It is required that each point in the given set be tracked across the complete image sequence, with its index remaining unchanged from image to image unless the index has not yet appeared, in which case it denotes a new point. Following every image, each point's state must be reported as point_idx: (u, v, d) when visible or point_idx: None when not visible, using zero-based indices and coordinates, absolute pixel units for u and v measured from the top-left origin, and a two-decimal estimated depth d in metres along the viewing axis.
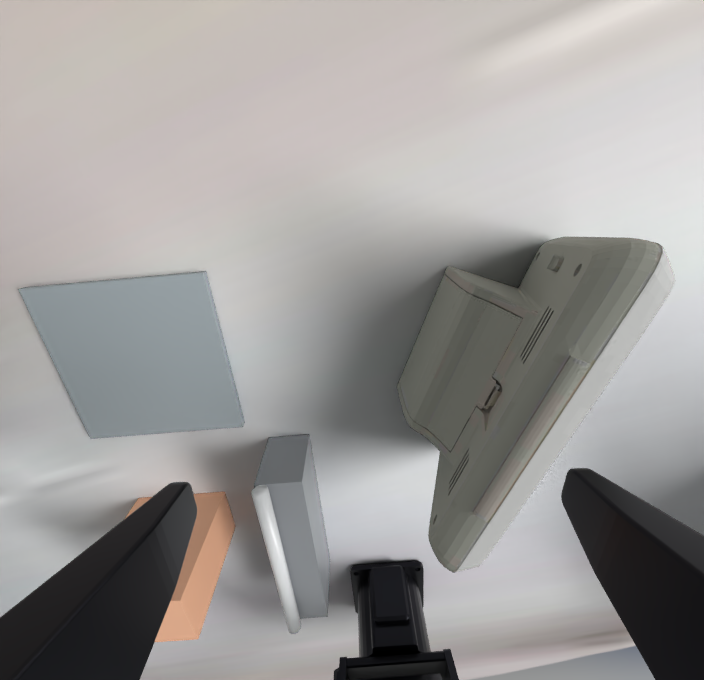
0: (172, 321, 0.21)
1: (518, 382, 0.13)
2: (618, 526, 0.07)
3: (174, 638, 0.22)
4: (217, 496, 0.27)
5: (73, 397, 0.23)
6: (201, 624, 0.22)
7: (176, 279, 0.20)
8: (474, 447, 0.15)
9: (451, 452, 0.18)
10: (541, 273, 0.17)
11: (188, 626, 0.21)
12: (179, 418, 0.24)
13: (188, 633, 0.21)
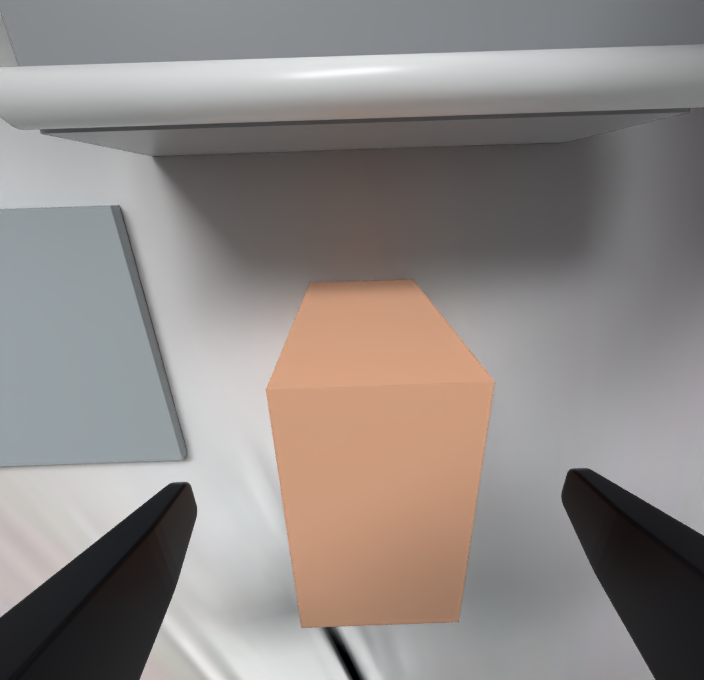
0: None
1: None
2: (618, 526, 0.07)
3: (470, 445, 0.07)
4: None
5: (106, 459, 0.16)
6: (468, 363, 0.07)
7: None
8: None
9: None
10: None
11: (415, 396, 0.06)
12: (115, 322, 0.13)
13: (454, 405, 0.06)
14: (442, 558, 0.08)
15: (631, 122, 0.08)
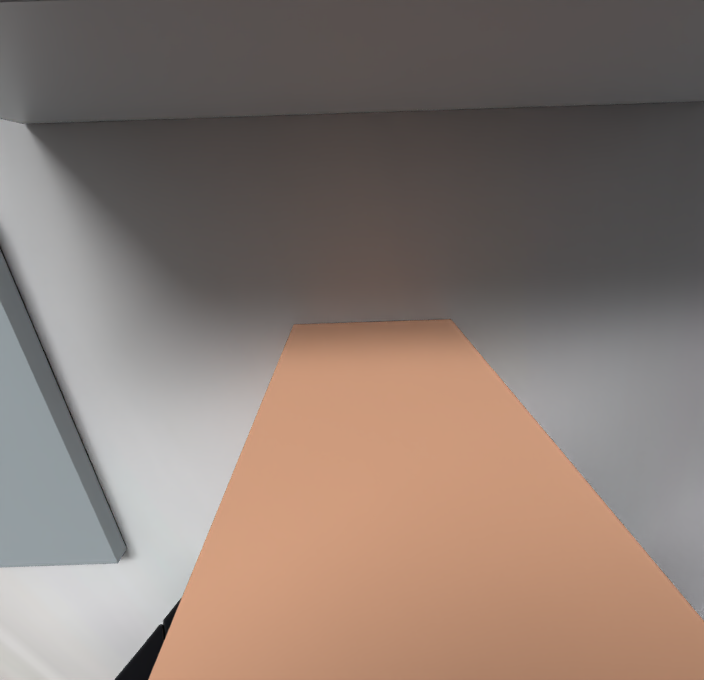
0: None
1: None
2: None
3: None
4: None
5: (11, 563, 0.11)
6: None
7: None
8: None
9: None
10: None
11: None
12: None
13: None
14: None
15: None
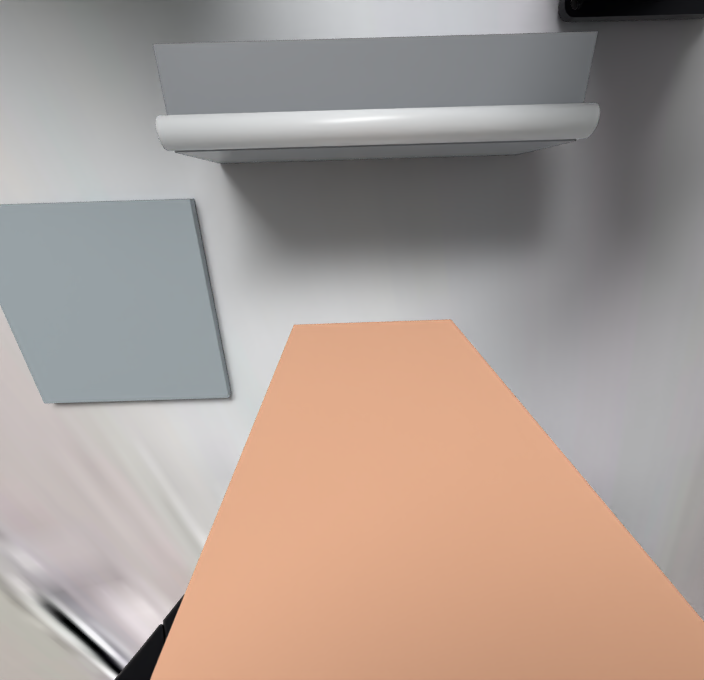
0: (35, 260, 0.17)
1: None
2: None
3: None
4: None
5: (170, 396, 0.20)
6: None
7: None
8: None
9: None
10: None
11: None
12: (185, 286, 0.18)
13: None
14: None
15: (547, 145, 0.13)
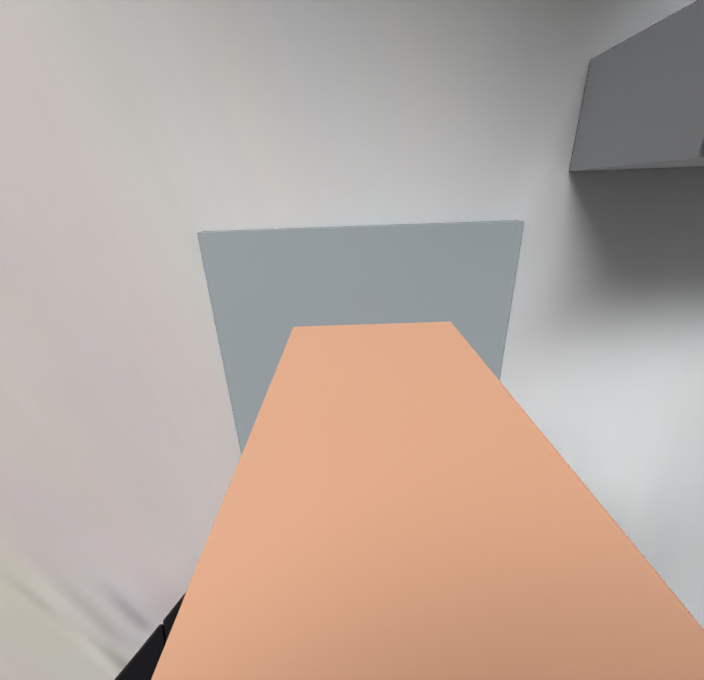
0: (287, 304, 0.13)
1: None
2: None
3: None
4: None
5: None
6: None
7: (213, 280, 0.12)
8: None
9: None
10: None
11: None
12: (477, 337, 0.13)
13: None
14: None
15: None
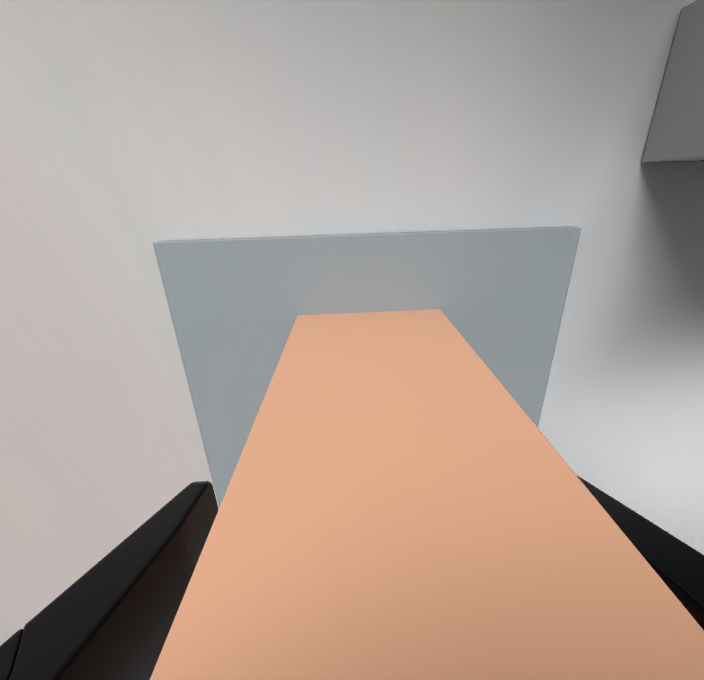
0: (272, 334, 0.10)
1: None
2: None
3: None
4: None
5: None
6: (633, 578, 0.03)
7: (177, 304, 0.09)
8: None
9: None
10: None
11: None
12: (513, 373, 0.10)
13: None
14: None
15: None
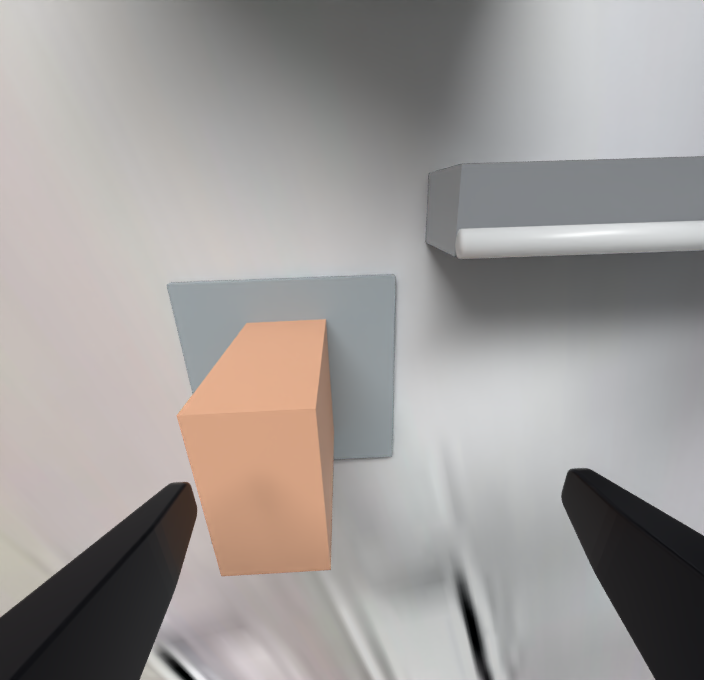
0: (233, 333, 0.17)
1: None
2: (618, 526, 0.07)
3: (309, 447, 0.10)
4: None
5: (335, 456, 0.21)
6: (309, 396, 0.11)
7: (179, 317, 0.17)
8: None
9: None
10: None
11: (269, 418, 0.10)
12: (373, 355, 0.18)
13: (293, 423, 0.10)
14: (308, 523, 0.12)
15: None
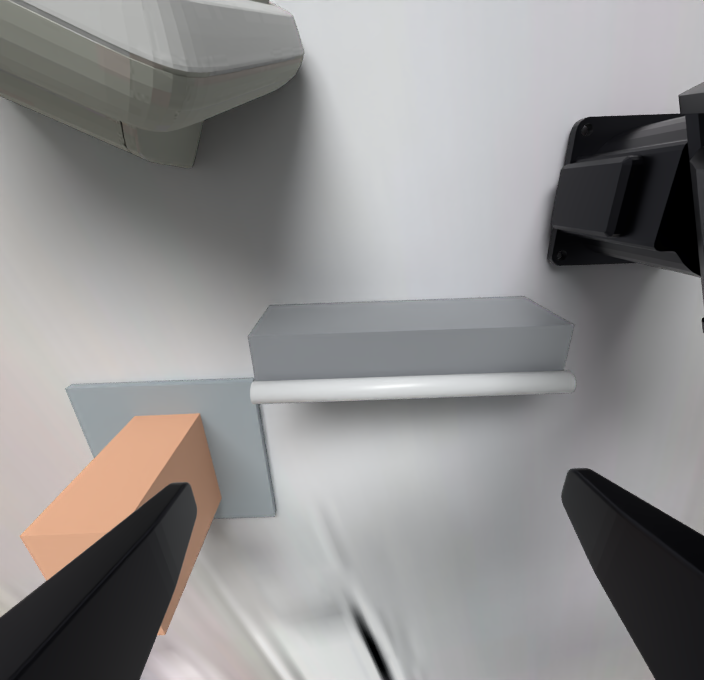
0: (124, 423, 0.21)
1: None
2: (618, 526, 0.07)
3: None
4: None
5: (225, 516, 0.24)
6: (124, 517, 0.14)
7: (78, 411, 0.21)
8: None
9: None
10: None
11: (87, 537, 0.14)
12: (244, 440, 0.22)
13: None
14: None
15: None
